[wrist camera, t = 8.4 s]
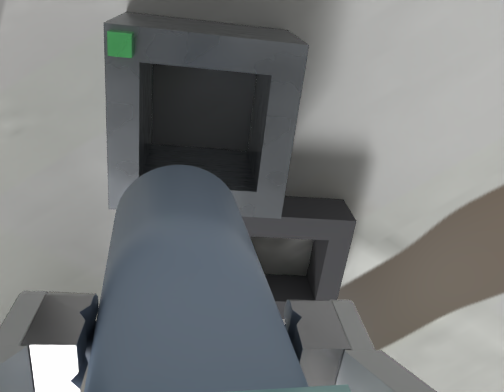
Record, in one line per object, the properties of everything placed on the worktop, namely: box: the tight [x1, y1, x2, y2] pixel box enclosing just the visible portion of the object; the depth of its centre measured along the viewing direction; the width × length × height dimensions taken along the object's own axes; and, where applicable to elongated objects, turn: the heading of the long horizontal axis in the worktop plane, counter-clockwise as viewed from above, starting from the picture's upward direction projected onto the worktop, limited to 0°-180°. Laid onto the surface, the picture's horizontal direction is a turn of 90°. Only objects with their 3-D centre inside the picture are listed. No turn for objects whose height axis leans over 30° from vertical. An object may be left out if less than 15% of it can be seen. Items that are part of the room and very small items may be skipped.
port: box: [104, 12, 309, 219], centre depth 24 cm, size 9×9×7 cm
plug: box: [84, 165, 351, 392], centre depth 10 cm, size 4×4×10 cm
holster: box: [242, 196, 356, 319], centre depth 31 cm, size 8×8×3 cm
